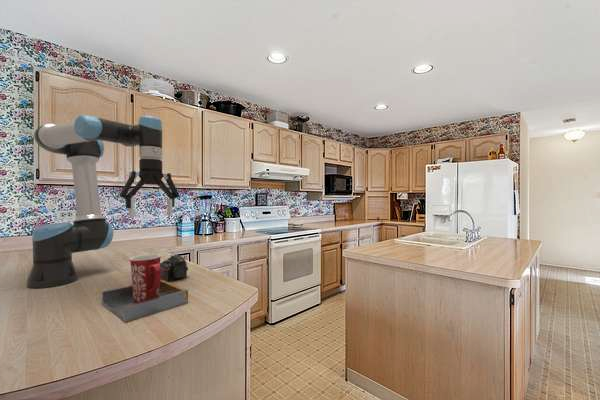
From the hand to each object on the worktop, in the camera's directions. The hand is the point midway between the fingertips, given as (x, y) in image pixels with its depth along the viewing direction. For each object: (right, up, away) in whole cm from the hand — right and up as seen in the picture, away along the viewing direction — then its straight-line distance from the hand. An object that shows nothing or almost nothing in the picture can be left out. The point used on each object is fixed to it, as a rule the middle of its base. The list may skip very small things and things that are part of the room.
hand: (151, 216), depth 104 cm
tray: (+6, -27, -15) cm, 31 cm away
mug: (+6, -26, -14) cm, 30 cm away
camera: (+3, -27, +11) cm, 29 cm away
